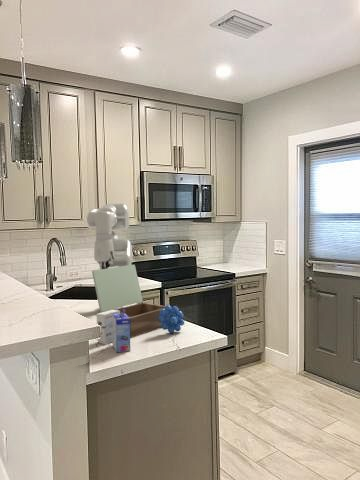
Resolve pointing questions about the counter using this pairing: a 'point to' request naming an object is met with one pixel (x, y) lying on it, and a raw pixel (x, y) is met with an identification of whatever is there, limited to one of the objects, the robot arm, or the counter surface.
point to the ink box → (106, 326)
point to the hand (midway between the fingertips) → (105, 275)
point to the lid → (117, 287)
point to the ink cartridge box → (121, 332)
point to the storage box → (143, 317)
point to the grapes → (171, 318)
